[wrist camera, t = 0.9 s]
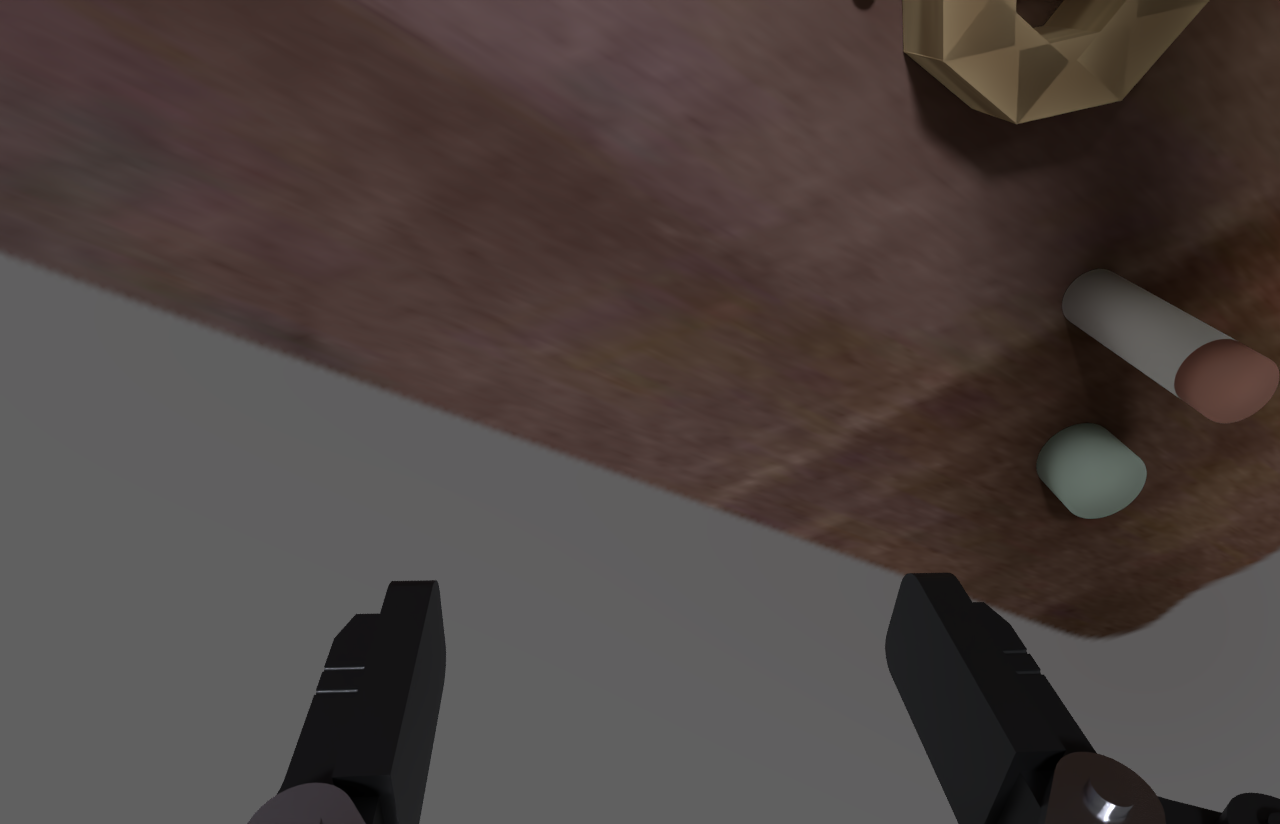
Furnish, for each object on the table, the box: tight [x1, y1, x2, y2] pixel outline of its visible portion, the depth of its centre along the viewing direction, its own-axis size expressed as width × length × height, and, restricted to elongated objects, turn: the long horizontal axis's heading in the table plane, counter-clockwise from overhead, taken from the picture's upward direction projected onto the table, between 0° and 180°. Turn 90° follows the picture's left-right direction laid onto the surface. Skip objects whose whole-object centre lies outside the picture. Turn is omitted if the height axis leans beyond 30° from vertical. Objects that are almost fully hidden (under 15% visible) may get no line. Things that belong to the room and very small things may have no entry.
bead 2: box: [1036, 423, 1147, 519], centre depth 43 cm, size 4×4×3 cm
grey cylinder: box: [1062, 269, 1279, 423], centre depth 35 cm, size 3×3×10 cm
